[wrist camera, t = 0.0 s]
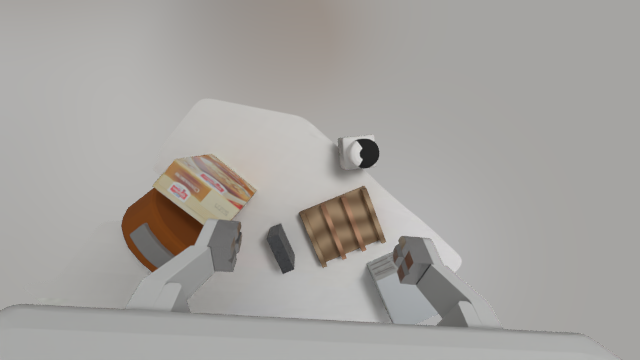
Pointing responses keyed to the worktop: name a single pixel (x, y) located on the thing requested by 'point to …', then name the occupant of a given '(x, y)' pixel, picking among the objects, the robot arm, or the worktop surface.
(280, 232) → the block
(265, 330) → the robot arm
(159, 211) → the orange rounded block
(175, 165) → the coffeecake box
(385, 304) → the supplement box
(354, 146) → the container
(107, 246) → the worktop surface
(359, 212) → the rack
